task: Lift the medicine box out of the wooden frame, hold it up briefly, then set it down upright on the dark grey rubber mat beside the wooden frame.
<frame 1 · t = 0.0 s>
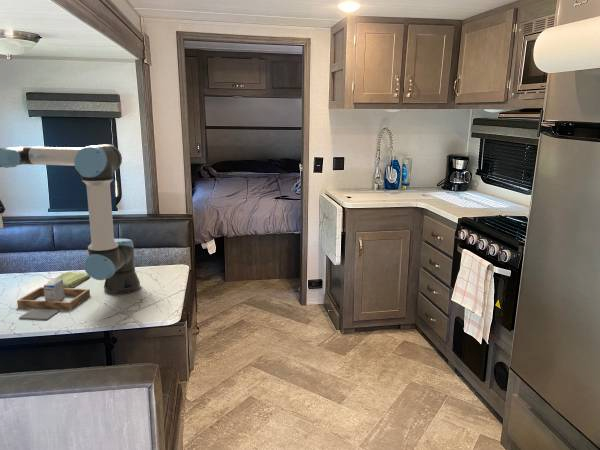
wooden frame: (55, 301, 186), on the table
washcloth: (69, 283, 208), on the table
mat: (40, 314, 174), on the table
medicine box: (55, 301, 186), resting in wooden frame
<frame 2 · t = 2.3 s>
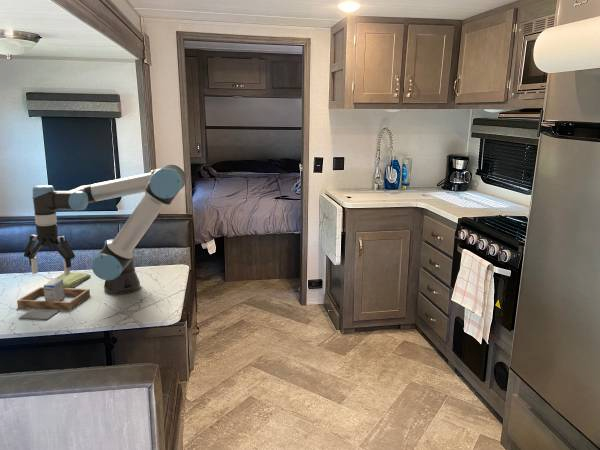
hand: (51, 274, 184), 12 cm above the table, tool pointing down, fingers open, 13 cm apart
nothing on the table moved.
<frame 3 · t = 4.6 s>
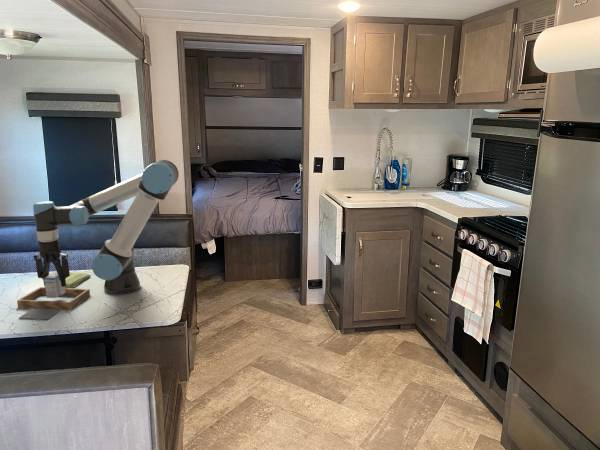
hand: (56, 293, 186), 4 cm above the table, tool pointing down, fingers closed on medicine box, 5 cm apart
medicine box: (56, 294, 186), point 3 cm above the table, touching gripper
everything else where it was.
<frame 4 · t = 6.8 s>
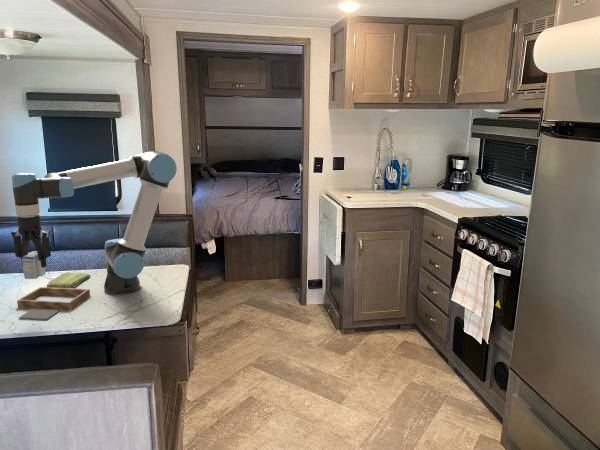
hand: (35, 274, 170), 16 cm above the table, tool pointing down, fingers closed on medicine box, 5 cm apart
medicine box: (35, 276, 170), point 16 cm above the table, touching gripper
everything else where it was.
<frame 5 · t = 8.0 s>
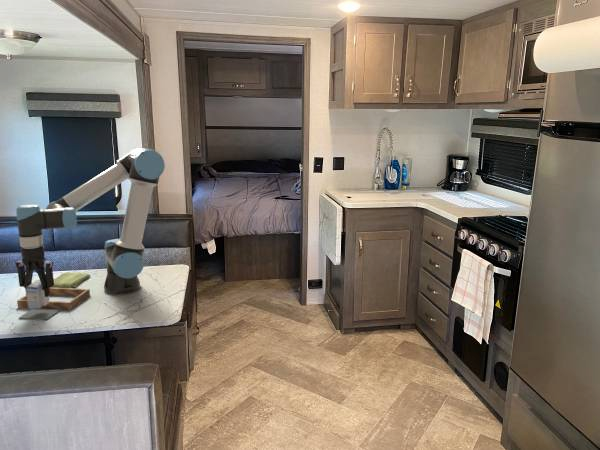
hand: (39, 303, 173), 5 cm above the table, tool pointing down, fingers closed on medicine box, 5 cm apart
medicine box: (39, 304, 173), point 4 cm above the table, touching gripper
everything else where it was.
when the fingers open (2 cm above the table, at t = 8.8 s): medicine box stays where it is, resting on mat.
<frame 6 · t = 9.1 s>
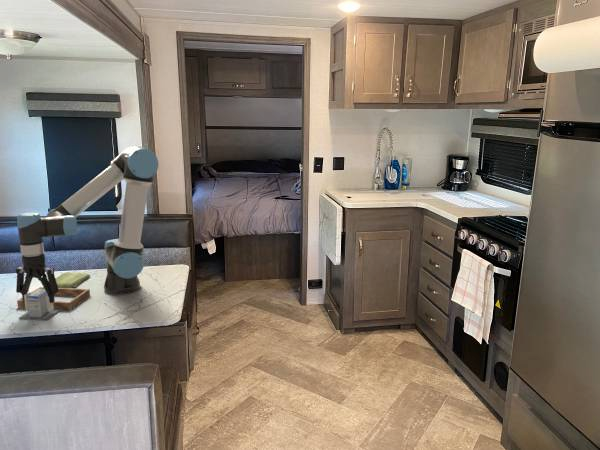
hand: (39, 309, 173), 2 cm above the table, tool pointing down, fingers open, 8 cm apart
medicine box: (40, 313, 174), resting on mat
everything else where it was.
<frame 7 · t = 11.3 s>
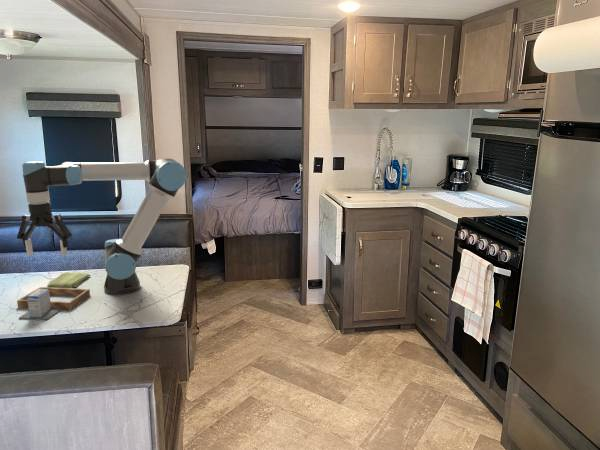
hand: (47, 255, 175), 22 cm above the table, tool pointing down, fingers open, 13 cm apart
nothing on the table moved.
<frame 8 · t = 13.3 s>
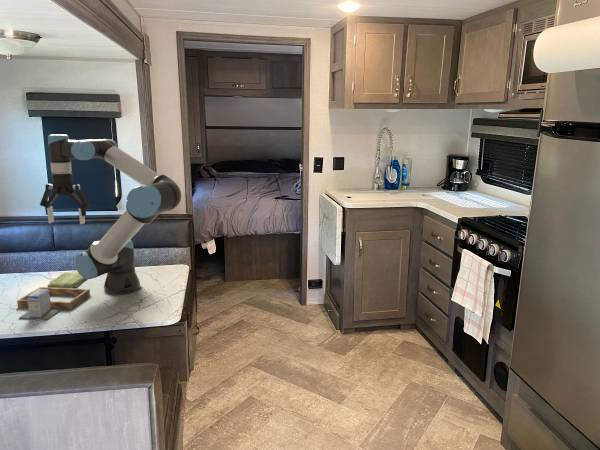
hand: (67, 223, 188), 32 cm above the table, tool pointing down, fingers open, 13 cm apart
nothing on the table moved.
at the end: medicine box inside the target area on the mat (0.1 cm from its centre), point 0.4 cm above the mat's base; medicine box tilted 0°; the gripper is holding nothing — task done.
